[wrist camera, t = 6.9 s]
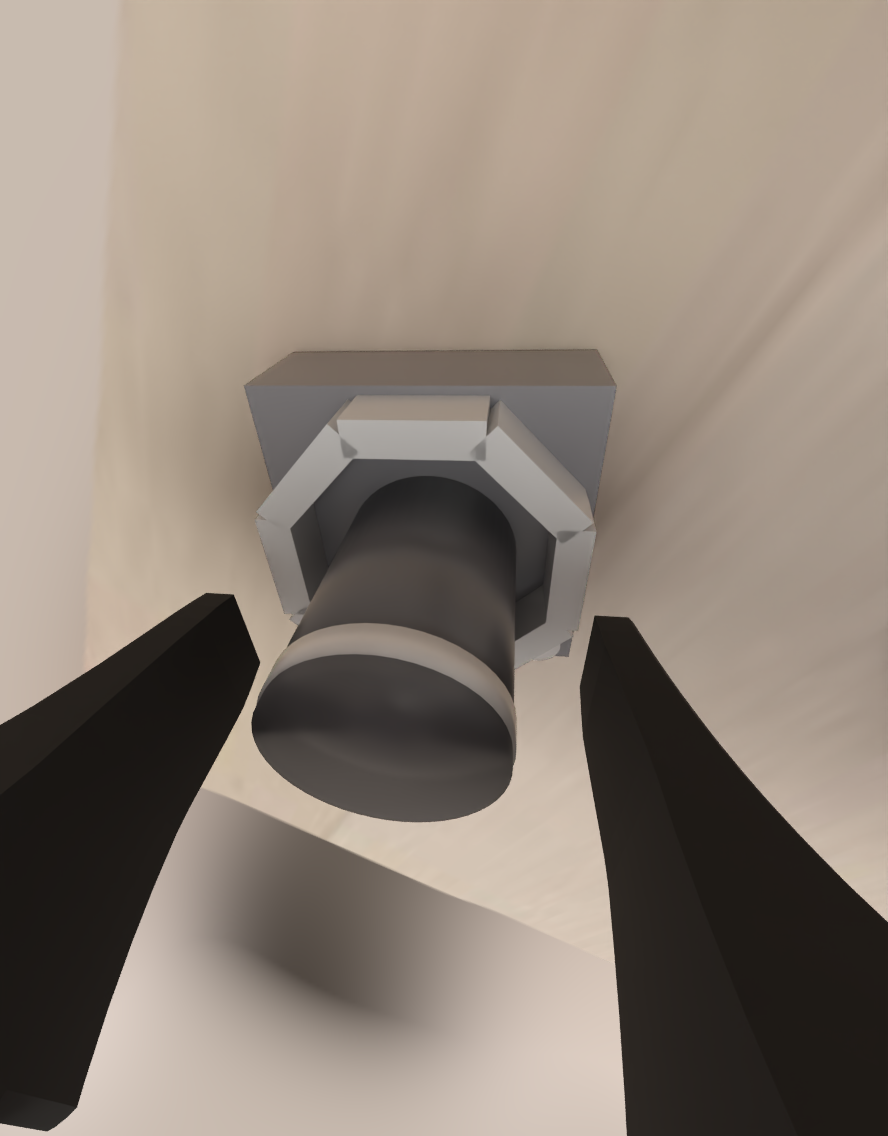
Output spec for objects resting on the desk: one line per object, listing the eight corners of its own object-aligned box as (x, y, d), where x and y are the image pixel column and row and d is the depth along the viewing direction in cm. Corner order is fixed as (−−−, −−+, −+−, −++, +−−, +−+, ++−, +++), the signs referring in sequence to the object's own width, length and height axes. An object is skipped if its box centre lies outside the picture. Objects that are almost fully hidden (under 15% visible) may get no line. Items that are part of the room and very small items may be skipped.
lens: (516, 470, 11) (512, 671, 6) (519, 614, 14) (518, 832, 9) (331, 478, 12) (204, 663, 7) (368, 613, 14) (294, 814, 10)
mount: (596, 349, 12) (630, 411, 9) (561, 592, 17) (573, 697, 13) (293, 352, 13) (209, 408, 9) (341, 582, 18) (298, 676, 14)
